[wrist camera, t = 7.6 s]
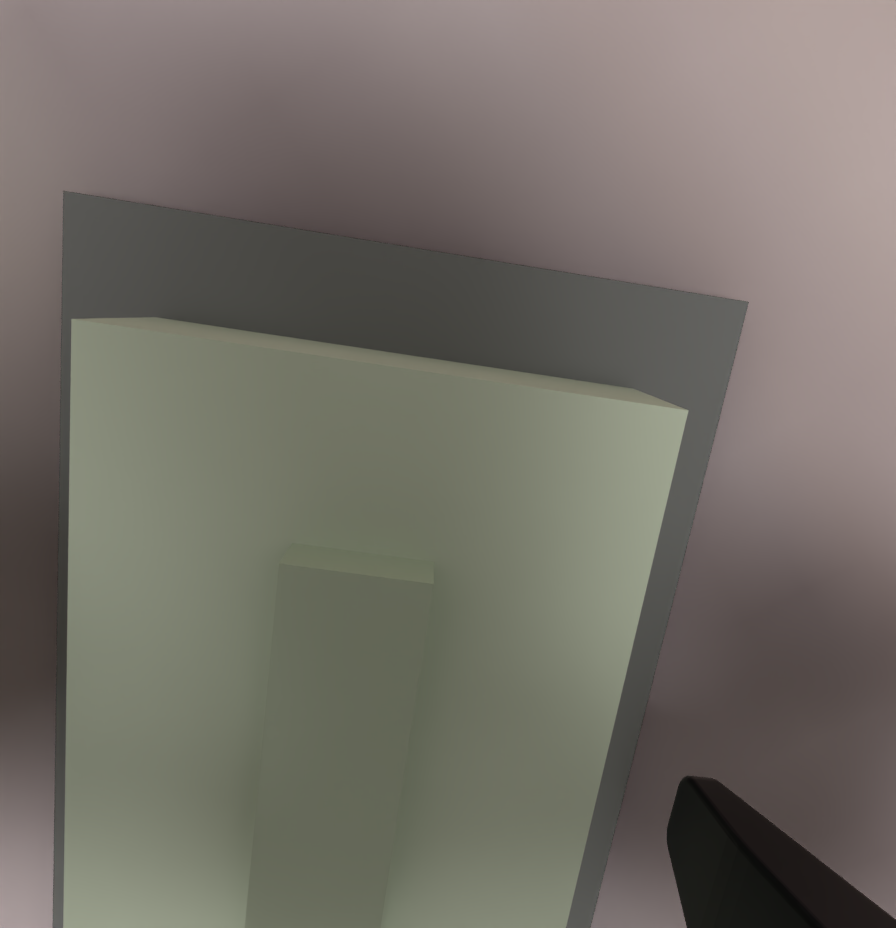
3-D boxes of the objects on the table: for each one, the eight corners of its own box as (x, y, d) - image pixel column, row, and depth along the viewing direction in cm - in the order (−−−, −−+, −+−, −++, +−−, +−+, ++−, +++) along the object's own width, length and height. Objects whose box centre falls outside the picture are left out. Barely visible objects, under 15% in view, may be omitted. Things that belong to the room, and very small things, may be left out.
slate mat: (735, 302, 9) (748, 302, 9) (557, 1016, 12) (562, 1039, 11) (80, 196, 9) (63, 191, 8) (65, 963, 11) (51, 987, 11)
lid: (156, 317, 8) (34, 319, 6) (633, 389, 9) (711, 419, 6) (129, 930, 11) (34, 1118, 8) (508, 969, 11) (528, 1162, 9)
